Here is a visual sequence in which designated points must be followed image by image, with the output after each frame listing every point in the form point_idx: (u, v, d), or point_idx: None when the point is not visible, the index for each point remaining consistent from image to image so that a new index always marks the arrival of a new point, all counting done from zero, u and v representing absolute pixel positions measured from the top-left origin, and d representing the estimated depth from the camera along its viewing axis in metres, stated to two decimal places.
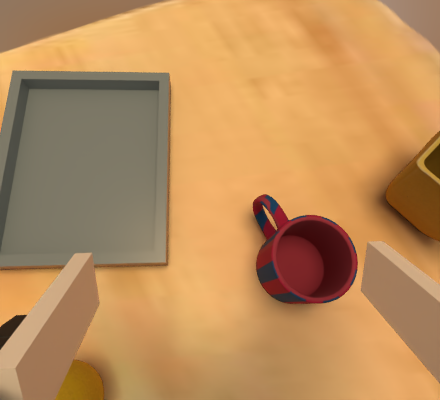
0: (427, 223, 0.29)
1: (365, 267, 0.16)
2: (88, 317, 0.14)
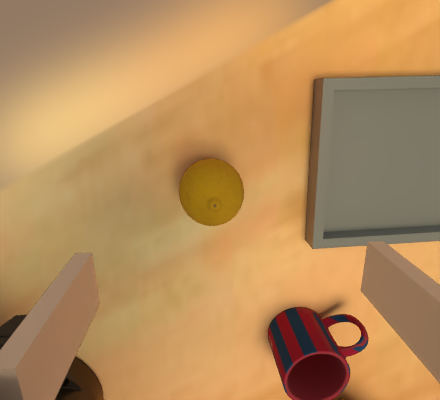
0: None
1: (365, 267, 0.16)
2: (88, 317, 0.14)
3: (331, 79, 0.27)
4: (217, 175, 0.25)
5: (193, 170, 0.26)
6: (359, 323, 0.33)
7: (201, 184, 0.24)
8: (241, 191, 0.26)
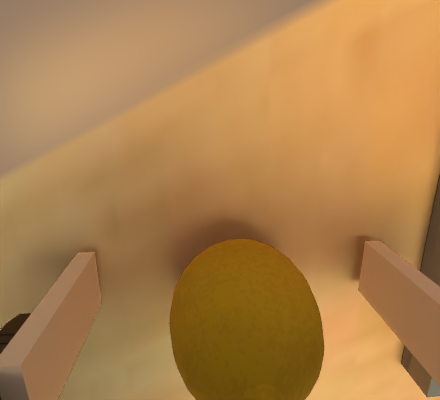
0: None
1: (362, 266, 0.16)
2: (91, 316, 0.14)
3: None
4: (269, 316, 0.09)
5: (204, 286, 0.10)
6: None
7: (226, 344, 0.09)
8: (323, 341, 0.10)
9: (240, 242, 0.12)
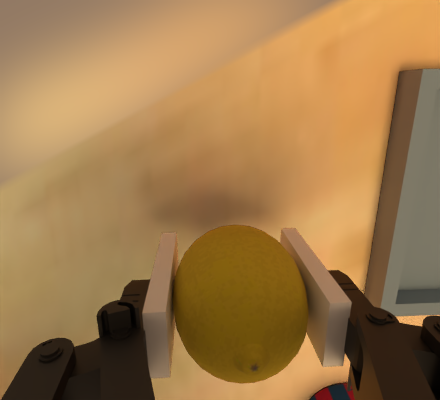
0: None
1: None
2: None
3: (435, 71, 0.17)
4: (259, 287, 0.11)
5: (203, 263, 0.12)
6: None
7: (221, 310, 0.10)
8: (307, 312, 0.12)
9: (235, 227, 0.14)
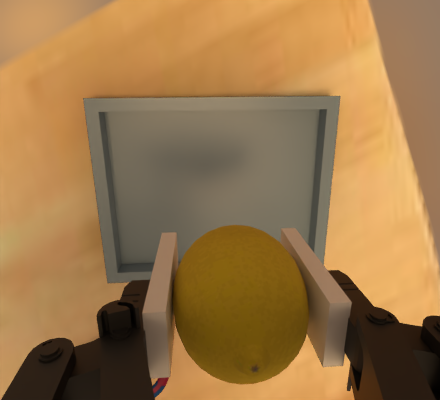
0: None
1: None
2: None
3: (92, 99, 0.24)
4: (259, 287, 0.11)
5: (203, 263, 0.12)
6: None
7: (221, 311, 0.10)
8: (308, 312, 0.12)
9: (236, 227, 0.14)
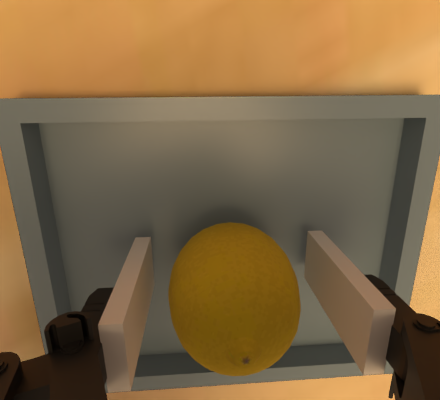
0: None
1: (306, 255, 0.17)
2: (150, 294, 0.15)
3: (8, 101, 0.13)
4: (251, 282, 0.11)
5: (197, 259, 0.12)
6: None
7: (214, 305, 0.11)
8: (299, 307, 0.12)
9: (230, 224, 0.14)
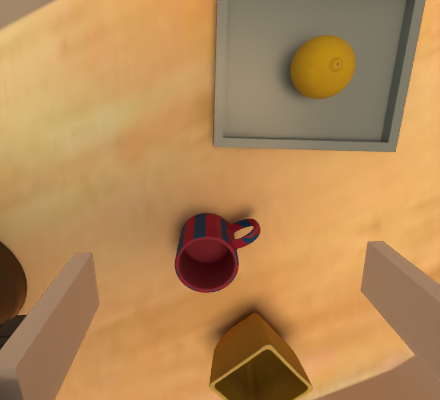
0: (230, 338, 0.41)
1: (365, 267, 0.16)
2: (88, 317, 0.14)
3: None
4: (339, 40, 0.27)
5: (312, 40, 0.28)
6: (255, 222, 0.35)
7: (324, 46, 0.27)
8: (355, 62, 0.28)
9: None
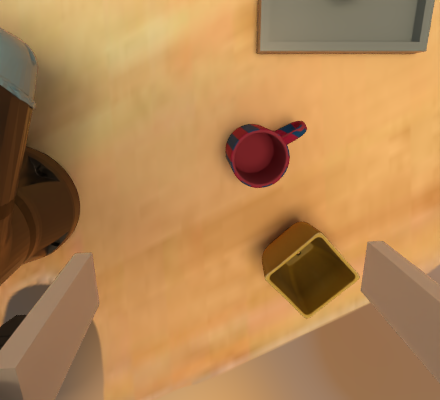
0: (276, 243, 0.43)
1: (365, 267, 0.16)
2: (88, 317, 0.14)
3: None
4: None
5: None
6: (300, 121, 0.38)
7: None
8: None
9: None
